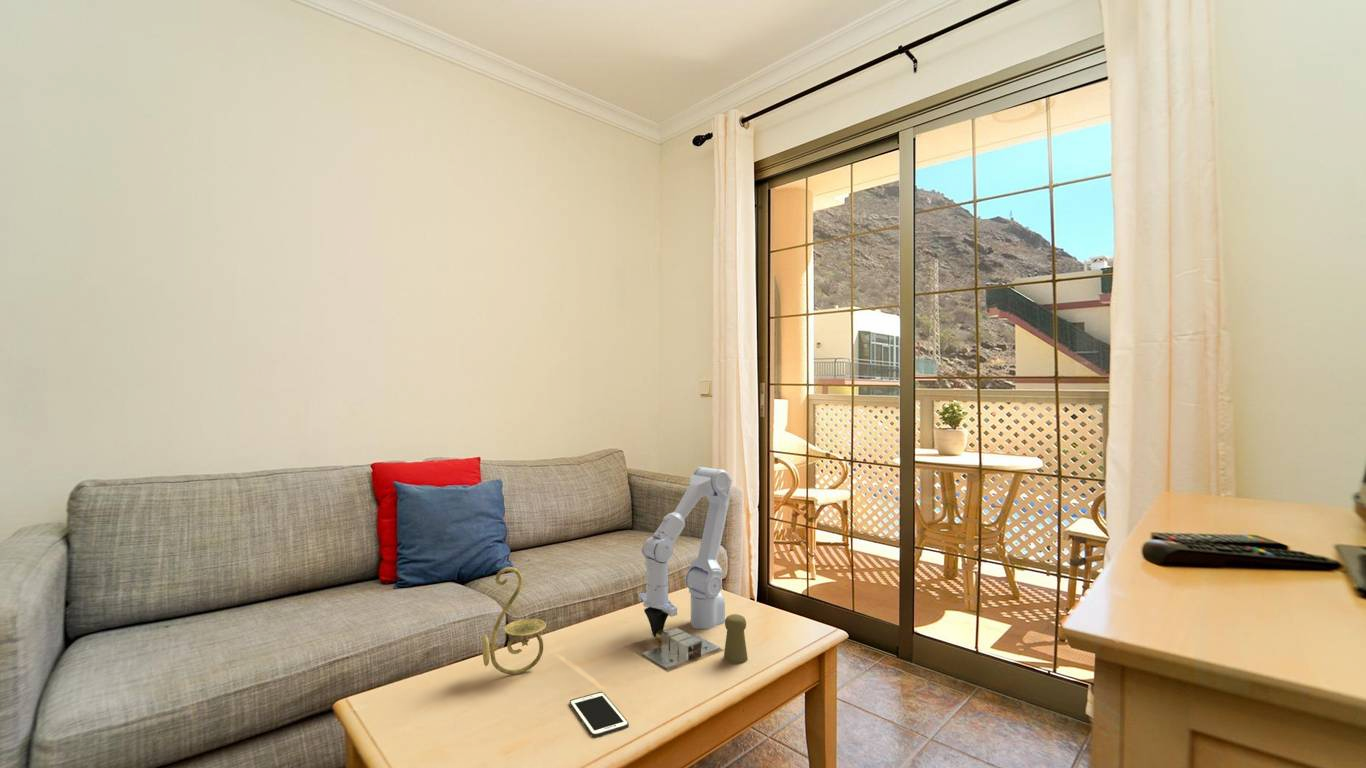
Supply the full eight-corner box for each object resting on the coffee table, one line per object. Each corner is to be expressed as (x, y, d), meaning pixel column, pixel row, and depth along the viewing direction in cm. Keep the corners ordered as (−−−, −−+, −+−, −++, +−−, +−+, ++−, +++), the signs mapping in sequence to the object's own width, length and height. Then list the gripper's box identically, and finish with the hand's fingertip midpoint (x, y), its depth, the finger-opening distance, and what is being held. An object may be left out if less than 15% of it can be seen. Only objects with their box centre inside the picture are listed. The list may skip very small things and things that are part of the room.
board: (679, 630, 161) (679, 627, 161) (724, 653, 147) (724, 650, 147) (624, 649, 149) (624, 645, 149) (667, 675, 135) (667, 671, 135)
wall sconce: (487, 690, 129) (487, 576, 129) (481, 672, 137) (481, 565, 138) (550, 676, 135) (550, 567, 135) (540, 659, 144) (540, 557, 144)
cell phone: (602, 695, 127) (602, 690, 127) (630, 729, 115) (630, 724, 115) (568, 704, 124) (568, 700, 124) (593, 740, 111) (593, 735, 111)
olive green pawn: (719, 664, 141) (719, 618, 141) (729, 654, 146) (729, 609, 147) (742, 669, 138) (742, 622, 138) (751, 659, 144) (751, 614, 144)
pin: (655, 641, 152) (655, 631, 152) (664, 638, 154) (664, 628, 154) (680, 655, 144) (679, 643, 144) (688, 651, 146) (688, 640, 146)
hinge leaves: (694, 636, 155) (694, 622, 155) (720, 649, 147) (720, 634, 147) (642, 654, 144) (642, 639, 144) (666, 669, 137) (666, 653, 137)
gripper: (629, 580, 157) (629, 631, 157) (661, 594, 146) (661, 649, 146) (650, 574, 161) (650, 624, 161) (683, 588, 150) (683, 641, 150)
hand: (657, 635), depth 154 cm, fingers closed
